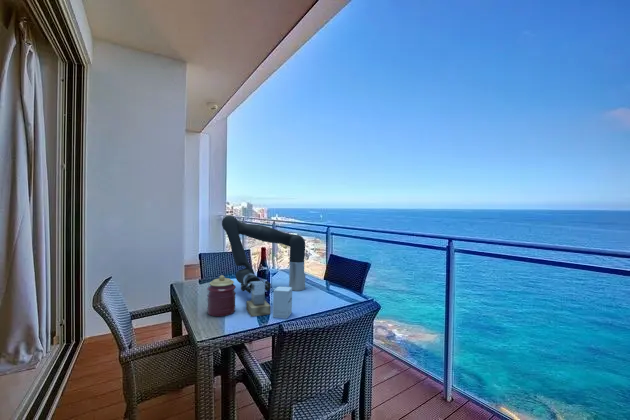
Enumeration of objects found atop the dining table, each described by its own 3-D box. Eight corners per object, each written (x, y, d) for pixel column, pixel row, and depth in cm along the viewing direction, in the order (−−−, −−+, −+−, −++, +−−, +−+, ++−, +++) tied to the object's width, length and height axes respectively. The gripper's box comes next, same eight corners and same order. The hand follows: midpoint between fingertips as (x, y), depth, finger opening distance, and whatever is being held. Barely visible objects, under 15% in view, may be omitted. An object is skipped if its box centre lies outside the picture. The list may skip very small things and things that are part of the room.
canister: (208, 318, 133) (208, 279, 133) (206, 309, 145) (206, 273, 145) (237, 314, 138) (237, 277, 138) (233, 305, 150) (233, 271, 150)
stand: (263, 306, 150) (264, 298, 150) (270, 314, 140) (270, 305, 140) (246, 309, 146) (246, 301, 146) (251, 316, 136) (251, 308, 136)
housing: (261, 300, 147) (261, 280, 146) (264, 304, 141) (264, 283, 141) (251, 301, 144) (251, 281, 144) (254, 305, 139) (254, 284, 139)
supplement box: (287, 318, 134) (288, 291, 134) (272, 317, 136) (272, 290, 136) (292, 313, 141) (292, 287, 141) (277, 311, 143) (277, 285, 143)
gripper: (238, 275, 153) (244, 283, 138) (264, 273, 159) (273, 280, 144) (237, 290, 153) (244, 299, 138) (264, 287, 159) (273, 296, 144)
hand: (259, 289), depth 141 cm, fingers open, 8 cm apart
